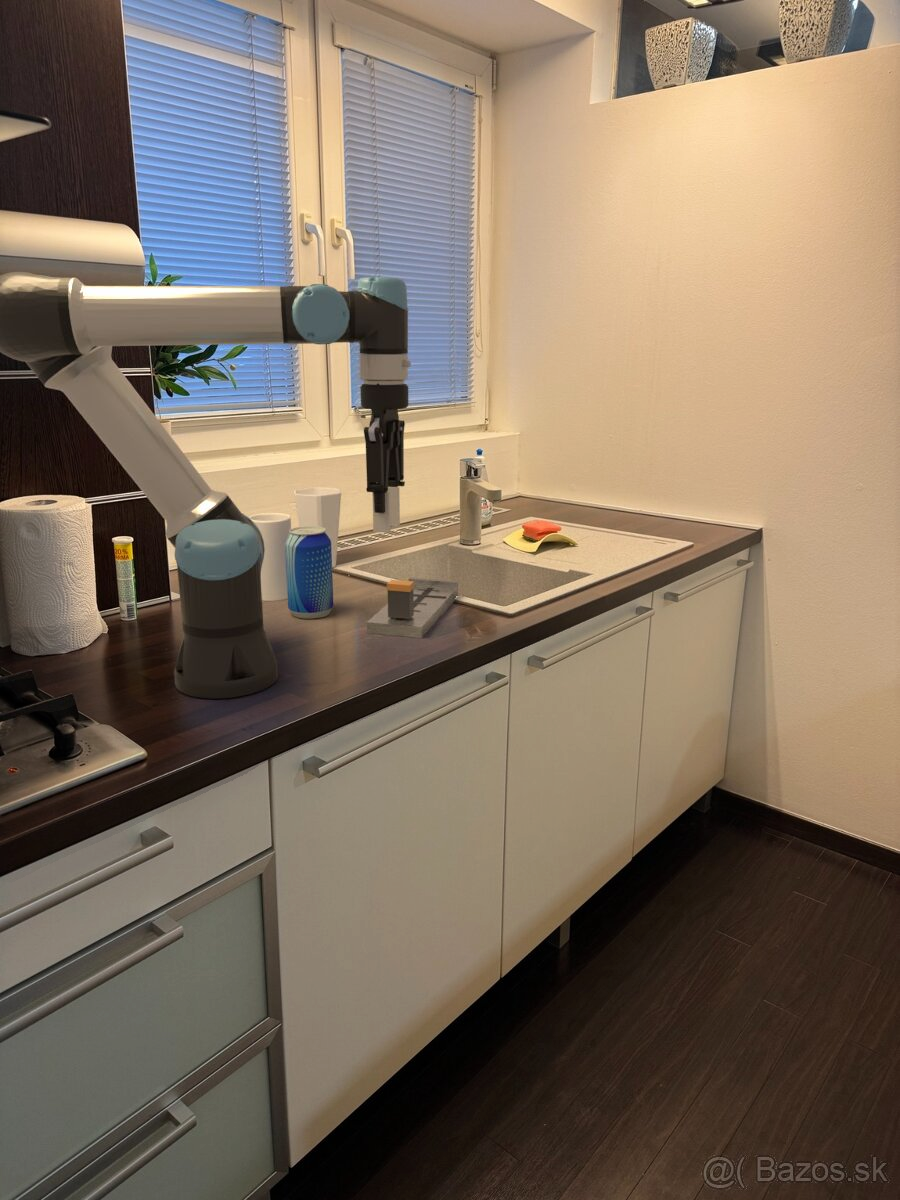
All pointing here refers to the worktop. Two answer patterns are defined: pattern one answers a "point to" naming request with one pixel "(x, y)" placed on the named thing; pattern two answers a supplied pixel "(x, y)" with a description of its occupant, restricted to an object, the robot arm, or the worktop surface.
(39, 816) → the worktop surface
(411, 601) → the fader
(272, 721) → the worktop surface
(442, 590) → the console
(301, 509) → the cup
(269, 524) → the cup
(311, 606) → the beer can
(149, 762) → the worktop surface
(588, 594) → the worktop surface
